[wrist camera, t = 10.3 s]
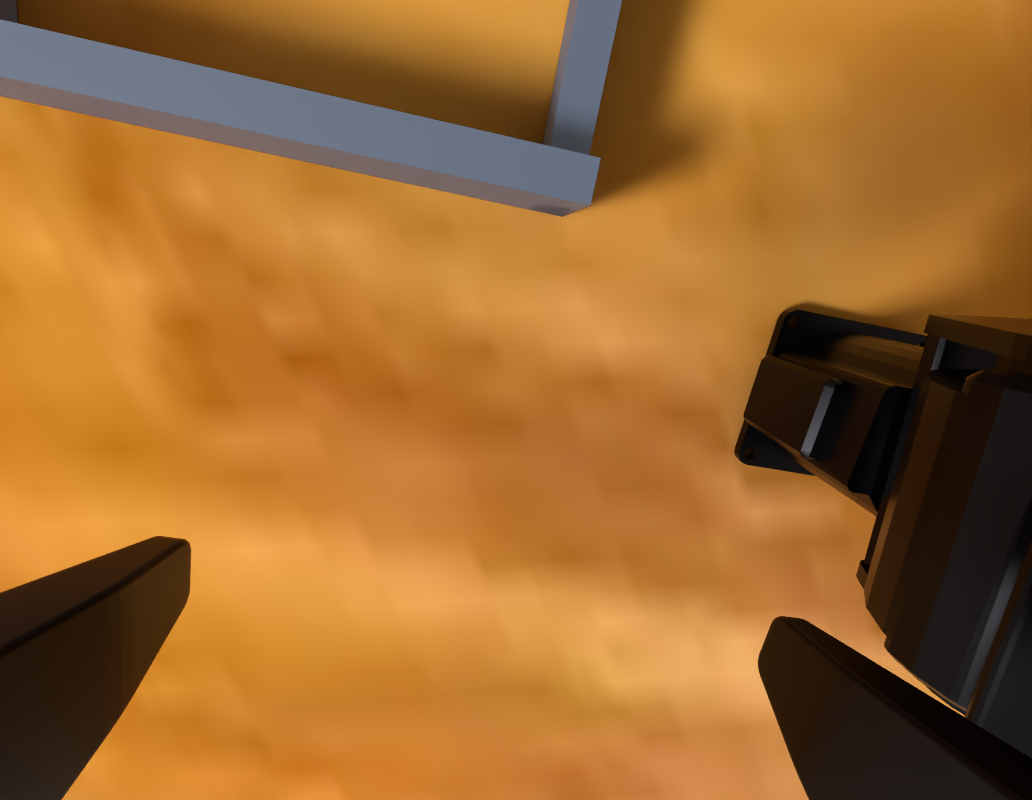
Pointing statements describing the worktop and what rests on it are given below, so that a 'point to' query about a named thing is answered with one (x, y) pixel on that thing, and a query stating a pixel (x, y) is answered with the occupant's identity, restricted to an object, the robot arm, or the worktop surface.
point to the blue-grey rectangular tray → (330, 113)
